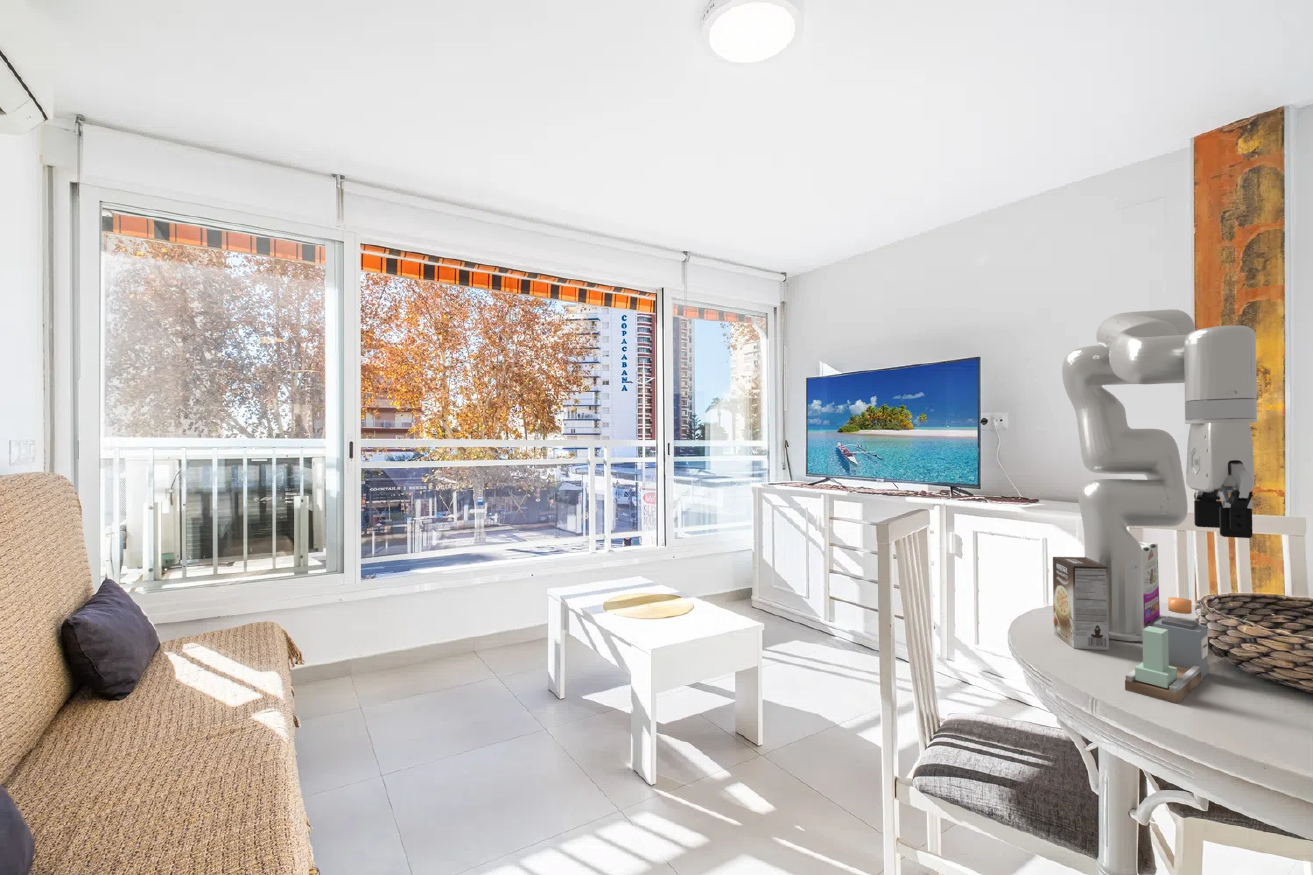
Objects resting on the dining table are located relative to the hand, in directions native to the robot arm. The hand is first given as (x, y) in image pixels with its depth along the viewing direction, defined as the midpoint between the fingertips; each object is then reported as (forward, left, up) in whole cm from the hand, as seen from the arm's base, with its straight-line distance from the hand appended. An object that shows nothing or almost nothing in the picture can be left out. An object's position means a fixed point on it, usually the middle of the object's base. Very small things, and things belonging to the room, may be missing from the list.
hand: (1221, 531), depth 85 cm
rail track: (-7, -9, -27) cm, 29 cm away
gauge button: (-17, -9, -16) cm, 25 cm away
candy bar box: (-47, -23, -27) cm, 59 cm away
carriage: (-3, -9, -25) cm, 27 cm away
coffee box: (-20, -25, -27) cm, 42 cm away
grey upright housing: (-17, -9, -27) cm, 33 cm away
